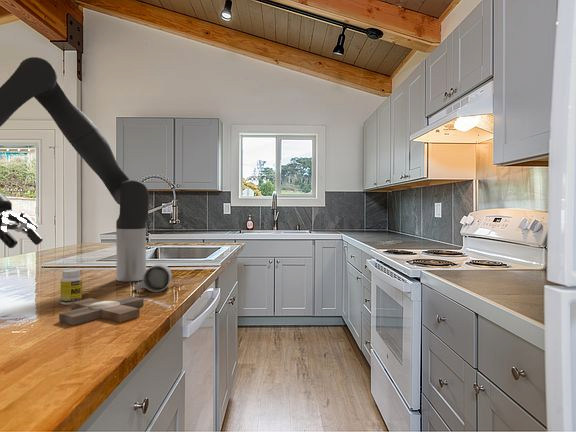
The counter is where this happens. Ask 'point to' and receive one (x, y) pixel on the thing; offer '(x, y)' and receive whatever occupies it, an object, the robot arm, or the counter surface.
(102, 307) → the walnut cross joint
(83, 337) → the counter surface
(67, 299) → the supplement bottle
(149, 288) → the ceramic mug
